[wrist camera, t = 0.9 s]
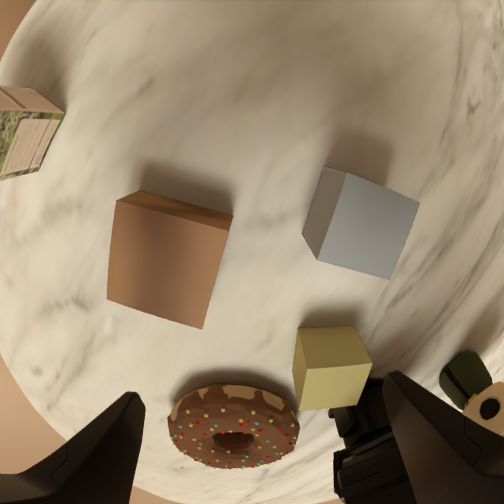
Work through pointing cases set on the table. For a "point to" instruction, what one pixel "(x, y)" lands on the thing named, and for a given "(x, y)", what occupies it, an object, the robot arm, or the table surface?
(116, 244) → the walnut slab
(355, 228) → the slate cube
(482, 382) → the character mug
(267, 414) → the donut
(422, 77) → the table surface
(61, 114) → the syrup box
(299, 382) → the olive cube
